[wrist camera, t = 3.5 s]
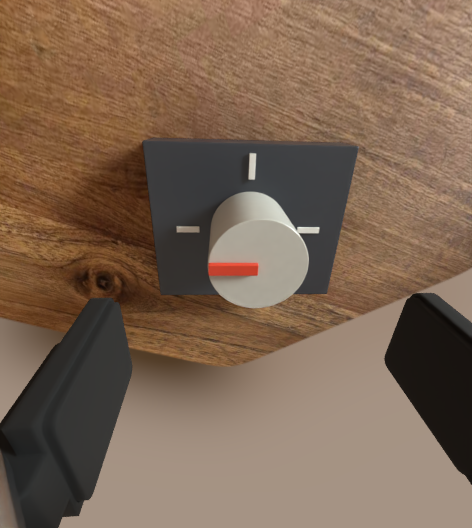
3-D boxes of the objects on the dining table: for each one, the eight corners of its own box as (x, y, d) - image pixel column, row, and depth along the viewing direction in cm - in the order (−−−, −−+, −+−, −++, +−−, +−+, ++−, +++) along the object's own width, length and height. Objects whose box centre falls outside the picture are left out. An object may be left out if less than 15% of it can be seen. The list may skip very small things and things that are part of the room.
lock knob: (290, 192, 16) (319, 221, 12) (282, 263, 19) (302, 311, 14) (210, 190, 16) (206, 220, 12) (211, 263, 18) (208, 312, 14)
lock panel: (342, 142, 18) (360, 146, 15) (316, 276, 22) (327, 295, 20) (152, 137, 17) (141, 140, 15) (166, 277, 22) (160, 296, 19)
